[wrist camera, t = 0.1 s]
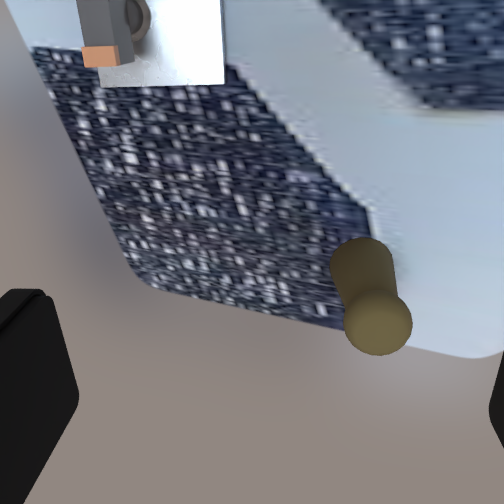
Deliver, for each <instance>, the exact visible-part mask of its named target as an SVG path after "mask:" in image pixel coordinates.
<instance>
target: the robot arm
mask: <svg viewBox="0 0 504 504" xmlns="http://www.w3.org/2000/svg"><path fill="white" fill-rule="evenodd" d="M78 401H79V390H78V387H77V383H76V380H75V376H74V373H73V369H72V365H71V362H70V358H69V355H68V351H67V348H66V344H65V341H64V337H63V334H62V330H61V327H60V323H59V319H58V316H57V312H56V309H55V305H54V302H53V300H52V298H51V297H50V296H46V294H45V293H44V292H43V290H40V289H11V290H9V291H8V292H7V293H5V294H4V295H3V296H2V297H1V298H0V504H23V503H24V502H25V499H26V498H27V496H28V495H29V492H30V491H31V489H32V487H33V486H34V484H35V482H36V480H37V478H38V477H39V475H40V473H41V471H42V469H43V468H44V466H45V464H46V462H47V460H48V459H49V457H50V455H51V453H52V451H53V450H54V448H55V446H56V444H57V442H58V440H59V439H60V437H61V435H62V434H63V432H64V430H65V428H66V426H67V425H68V423H69V421H70V419H71V418H72V416H73V414H74V412H75V410H76V408H77V406H78ZM489 417H490V420H491V423H492V425H493V428H494V430H495V432H496V434H497V436H498V438H499V440H500V442H501V444H502V446H503V448H504V352H503V356H502V360H501V364H500V367H499V370H498V374H497V378H496V381H495V386H494V389H493V392H492V396H491V399H490V403H489Z"/></svg>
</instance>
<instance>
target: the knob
mask: <svg viewBox="0 0 504 504" xmlns="http://www.w3.org/2000/svg"><path fill="white" fill-rule="evenodd" d="M76 2H77V7H78V13H79V18H80V23H81V29H82V34H83V40H84V45H85V47H81V49H82V54H83V59H84V65H85V67H115V66H120V65H124V64H128V63H132V62H135V59H134V52H133V45H132V38H131V35H132V34H135V33H137V32H138V31H139V30H140V28H141V26H142V24H143V12H142V9H141V7H140V5H139V4H138V2H137V1H136V0H76Z"/></svg>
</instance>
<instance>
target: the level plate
mask: <svg viewBox="0 0 504 504" xmlns="http://www.w3.org/2000/svg"><path fill="white" fill-rule="evenodd" d="M136 1H137V2H138V4H139V5H140V7H141V9H142V12H143V24H142V26H141V28H140V30H139V31H138V32H137V33H135V34H132V35H131V38H132V45H133V52H134V59H135V62H132V63H128V64H124V65H120V66H115V67H98V73H99V78H100V84H101V88H102V87H138V86H173V85H209V84H225V83H226V82H227V76H226V58H225V41H224V23H223V6H222V0H136Z"/></svg>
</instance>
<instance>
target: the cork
mask: <svg viewBox="0 0 504 504" xmlns="http://www.w3.org/2000/svg"><path fill="white" fill-rule="evenodd" d="M329 269H330V273H331V277H332V279H333V281H334V283H335V286H336V288H337V290H338V293H339V295H340V297H341V300H342V302H343V304H344V306H345V309H346V310H345V313H344V320H343V325H344V330H345V334H346V336H347V338H348V339H349V341H350V342H351V343H352V345H353V346H354V347H356V348H357V349H359V350H360V351H362V352H364V353H367V354H370V355H377V356H382V355H387V354H391V353H393V352H395V351H397V350H399V349H400V348H401V347H402V346H404V345H405V343H406V342H407V340H408V339H409V337H410V335H411V331H412V325H413V322H412V317H411V313H410V311H409V309H408V307H407V306H406V304H405V303H404V301H402V300H401V299H400V298H399V297H398V293H397V286H396V279H395V272H394V264H393V259H392V254H391V253H390V251H389V249H388V248H387V247H386V246H385V245H384V244H382V243H381V242H380V241H377V240H374V239H372V238H356V239H351V240H349V241H347V242H345V243H343V244H342V245H340V246H339V247H338V248H337V249H336V250H335V251H334V253H333V255H332V257H331V259H330V267H329Z"/></svg>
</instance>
